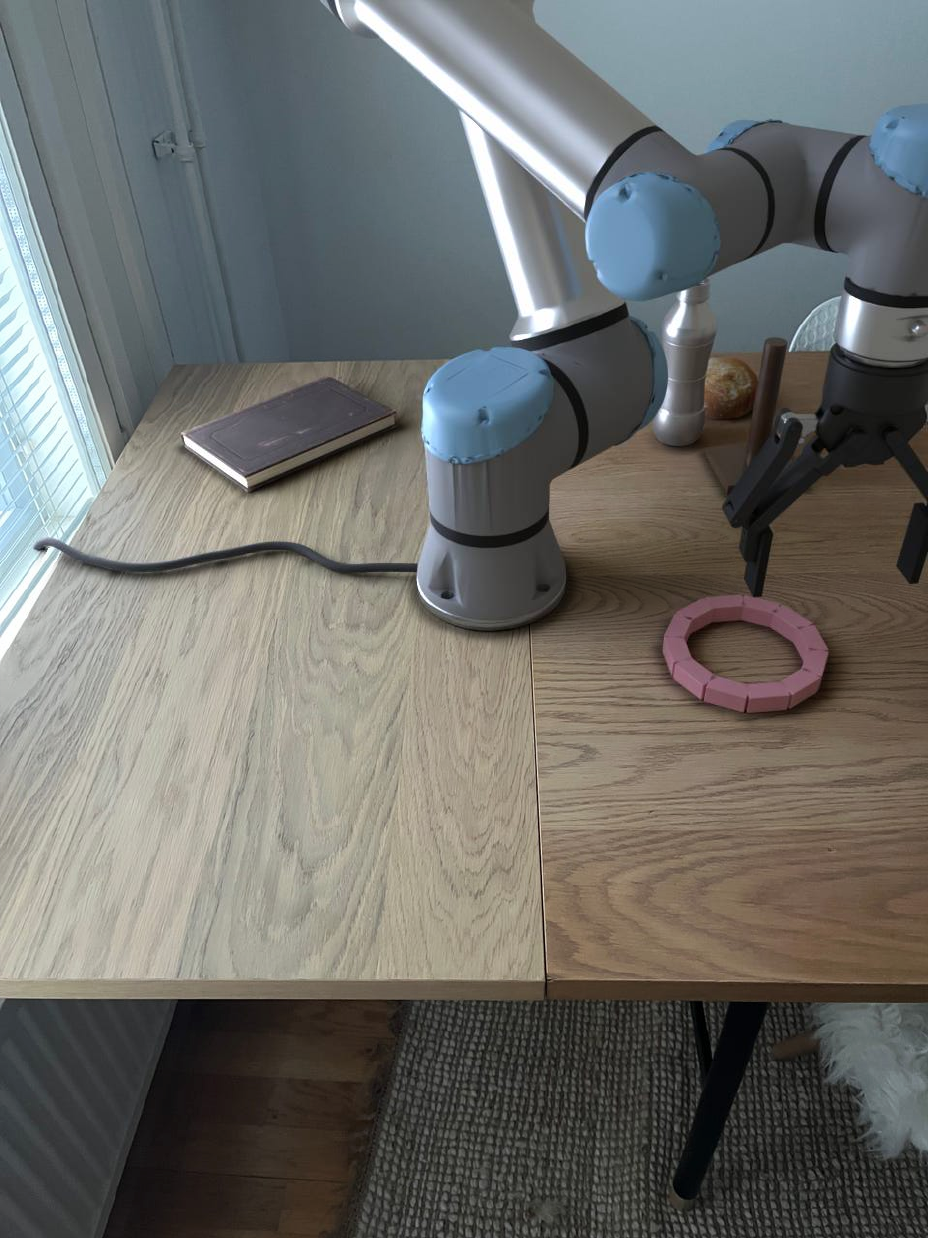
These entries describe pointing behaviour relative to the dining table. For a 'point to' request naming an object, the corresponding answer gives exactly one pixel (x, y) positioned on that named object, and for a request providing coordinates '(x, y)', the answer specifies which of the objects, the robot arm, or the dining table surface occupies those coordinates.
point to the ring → (738, 693)
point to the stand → (753, 419)
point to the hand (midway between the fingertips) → (829, 581)
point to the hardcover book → (288, 432)
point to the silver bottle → (686, 365)
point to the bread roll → (729, 388)
